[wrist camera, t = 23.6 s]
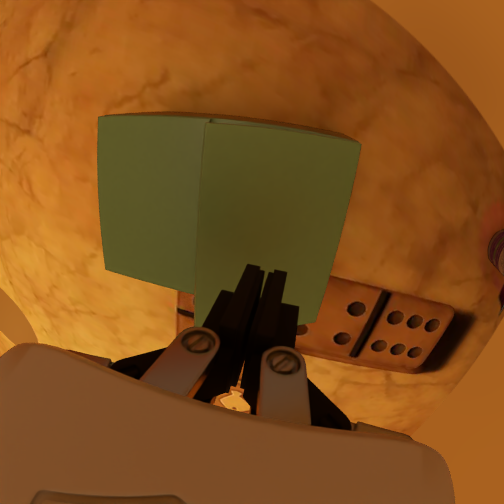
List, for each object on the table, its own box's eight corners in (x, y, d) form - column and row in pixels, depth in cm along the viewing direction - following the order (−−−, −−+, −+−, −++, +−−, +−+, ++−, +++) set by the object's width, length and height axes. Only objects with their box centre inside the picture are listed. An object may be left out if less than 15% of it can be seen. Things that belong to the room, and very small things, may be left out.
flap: (357, 142, 16) (361, 143, 15) (313, 319, 21) (315, 322, 21) (204, 122, 13) (206, 122, 12) (193, 334, 18) (194, 338, 18)
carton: (343, 133, 25) (361, 142, 15) (317, 255, 31) (314, 322, 21) (166, 111, 27) (97, 116, 18) (161, 224, 33) (104, 270, 23)
